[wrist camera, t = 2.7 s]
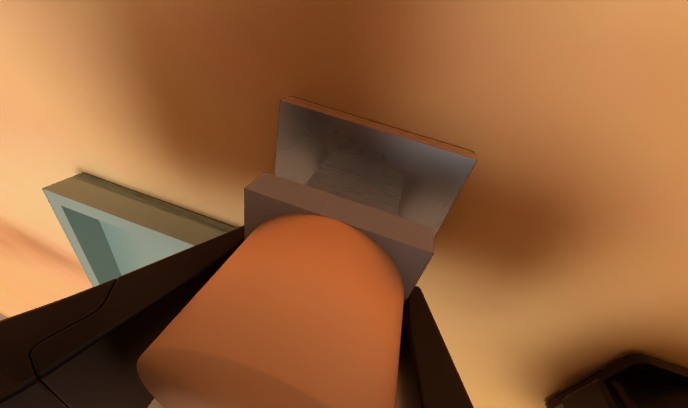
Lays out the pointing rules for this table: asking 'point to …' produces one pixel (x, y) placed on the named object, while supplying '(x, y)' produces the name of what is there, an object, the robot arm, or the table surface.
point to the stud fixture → (370, 162)
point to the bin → (123, 226)
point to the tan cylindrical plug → (295, 308)
